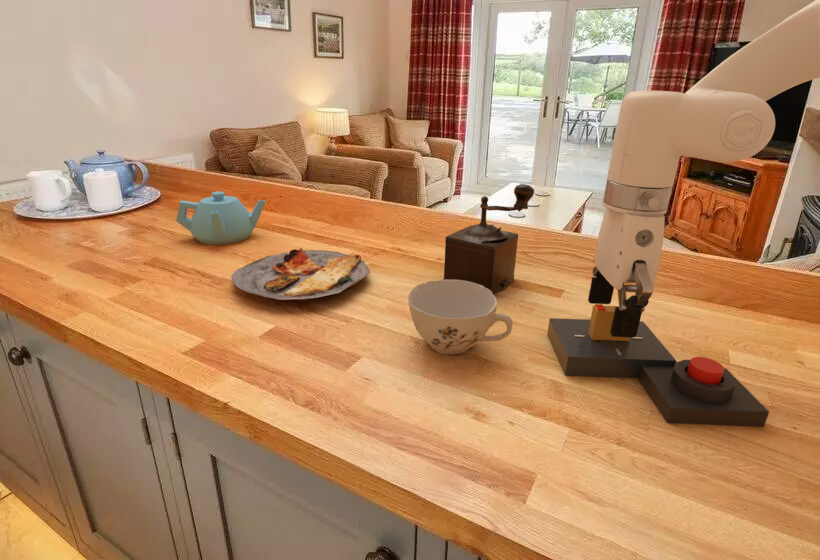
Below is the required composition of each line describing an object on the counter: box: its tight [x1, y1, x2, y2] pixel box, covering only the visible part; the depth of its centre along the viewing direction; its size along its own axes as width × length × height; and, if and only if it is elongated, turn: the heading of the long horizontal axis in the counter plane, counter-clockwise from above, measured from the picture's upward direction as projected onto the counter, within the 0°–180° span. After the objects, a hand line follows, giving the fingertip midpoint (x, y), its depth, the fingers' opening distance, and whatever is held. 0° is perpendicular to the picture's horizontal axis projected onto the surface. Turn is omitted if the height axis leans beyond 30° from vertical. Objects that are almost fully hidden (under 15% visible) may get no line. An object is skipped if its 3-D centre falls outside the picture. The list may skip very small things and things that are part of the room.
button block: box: [637, 359, 770, 428], centre depth 60 cm, size 11×9×4 cm
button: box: [687, 356, 725, 384], centre depth 59 cm, size 4×4×2 cm
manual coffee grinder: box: [443, 183, 535, 295], centre depth 93 cm, size 16×11×18 cm
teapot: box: [175, 191, 266, 246], centre depth 115 cm, size 15×15×11 cm
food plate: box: [231, 247, 371, 301], centre depth 92 cm, size 25×23×4 cm
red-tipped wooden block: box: [588, 304, 630, 341], centre depth 68 cm, size 5×2×5 cm, turn 88°
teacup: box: [407, 279, 513, 355], centre depth 70 cm, size 15×12×8 cm
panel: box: [546, 317, 677, 380], centre depth 70 cm, size 14×11×3 cm
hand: (610, 318), depth 68 cm, fingers open, 9 cm apart
